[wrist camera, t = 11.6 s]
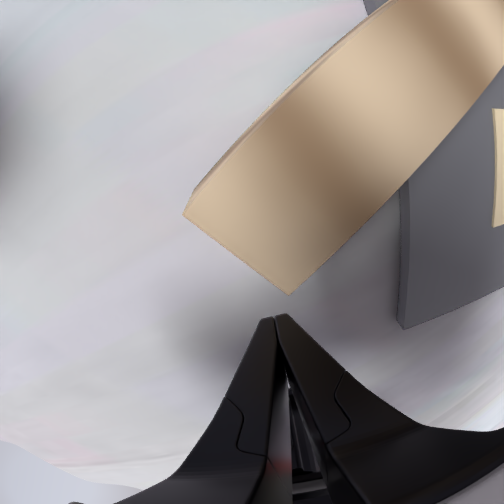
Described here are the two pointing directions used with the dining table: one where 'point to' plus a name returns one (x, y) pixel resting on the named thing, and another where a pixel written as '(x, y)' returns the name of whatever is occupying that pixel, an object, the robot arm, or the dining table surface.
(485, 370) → the dining table surface
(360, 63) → the swing arm
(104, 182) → the dining table surface
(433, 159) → the label panel
